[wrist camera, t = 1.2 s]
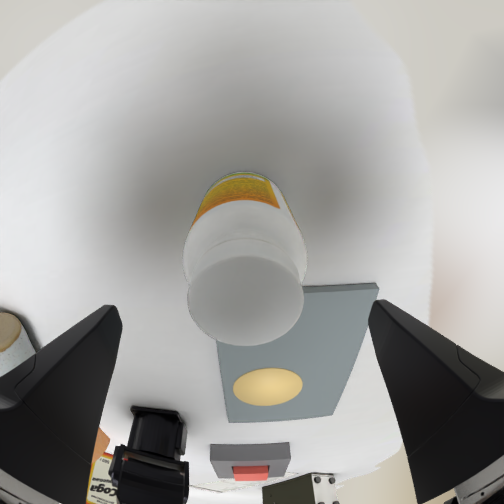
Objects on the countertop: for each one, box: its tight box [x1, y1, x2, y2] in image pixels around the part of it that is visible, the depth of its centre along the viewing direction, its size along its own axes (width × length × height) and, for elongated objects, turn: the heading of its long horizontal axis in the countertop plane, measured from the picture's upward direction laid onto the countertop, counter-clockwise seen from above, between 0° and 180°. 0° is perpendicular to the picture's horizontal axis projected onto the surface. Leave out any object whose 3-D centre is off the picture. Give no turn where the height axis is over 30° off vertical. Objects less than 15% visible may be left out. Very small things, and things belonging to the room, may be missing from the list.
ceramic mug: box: [0, 312, 36, 377], centre depth 20 cm, size 11×8×8 cm
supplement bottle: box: [182, 172, 307, 346], centre depth 13 cm, size 5×5×10 cm
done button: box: [233, 465, 268, 481], centre depth 34 cm, size 5×5×2 cm
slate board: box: [216, 283, 379, 423], centre depth 25 cm, size 13×20×1 cm, turn 0°
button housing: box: [210, 442, 291, 479], centre depth 36 cm, size 12×12×3 cm
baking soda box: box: [86, 452, 128, 504], centre depth 35 cm, size 10×6×16 cm
